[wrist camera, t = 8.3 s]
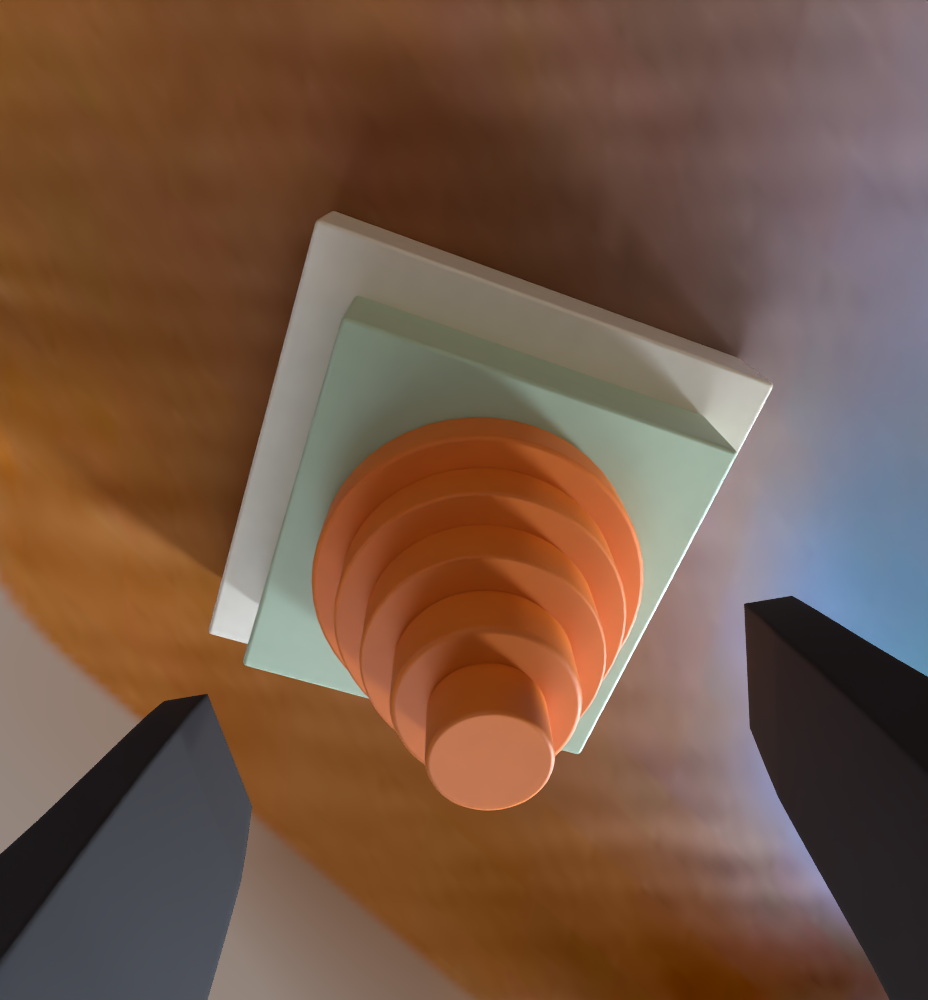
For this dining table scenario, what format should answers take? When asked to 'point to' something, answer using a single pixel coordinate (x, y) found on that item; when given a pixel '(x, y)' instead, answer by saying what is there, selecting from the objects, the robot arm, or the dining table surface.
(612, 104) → the dining table surface
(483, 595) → the cone
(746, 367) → the base block
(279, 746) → the dining table surface
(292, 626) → the top block
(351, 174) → the dining table surface
